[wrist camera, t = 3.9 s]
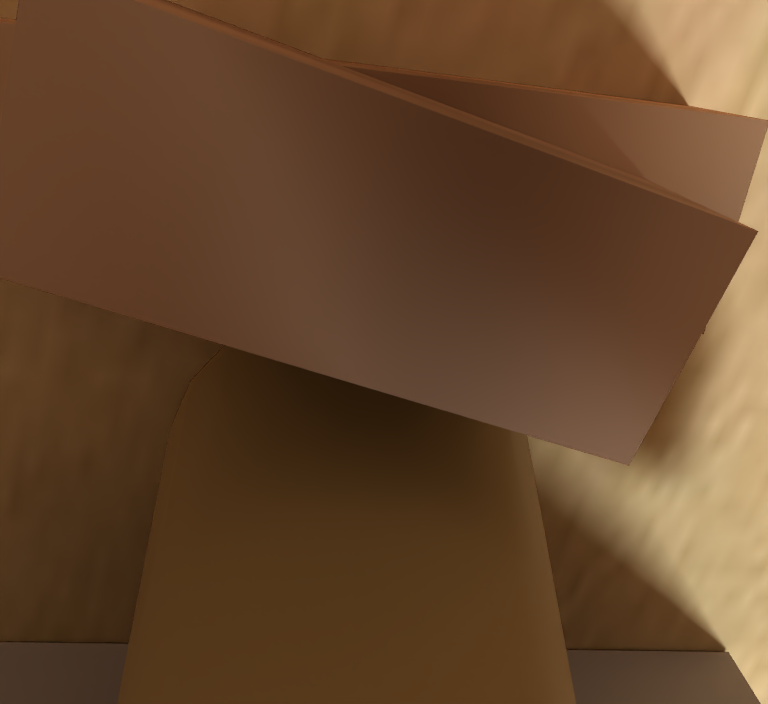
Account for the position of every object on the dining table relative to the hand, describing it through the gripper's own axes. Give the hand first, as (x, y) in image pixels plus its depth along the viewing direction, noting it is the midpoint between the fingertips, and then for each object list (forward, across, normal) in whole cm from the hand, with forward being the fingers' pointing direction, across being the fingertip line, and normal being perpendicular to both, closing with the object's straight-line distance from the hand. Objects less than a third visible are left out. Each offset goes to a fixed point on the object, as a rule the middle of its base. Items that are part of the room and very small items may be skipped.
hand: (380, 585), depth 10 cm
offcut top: (0, -1, +6) cm, 6 cm away
